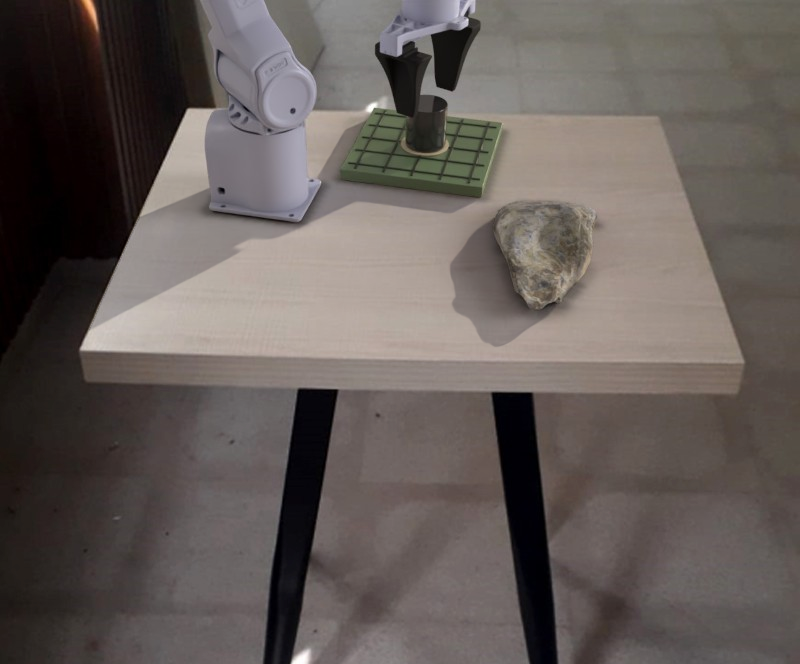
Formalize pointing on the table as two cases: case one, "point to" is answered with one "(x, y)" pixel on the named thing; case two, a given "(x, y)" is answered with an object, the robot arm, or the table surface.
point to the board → (423, 155)
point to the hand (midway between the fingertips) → (426, 101)
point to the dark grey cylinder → (427, 125)
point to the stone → (545, 247)
